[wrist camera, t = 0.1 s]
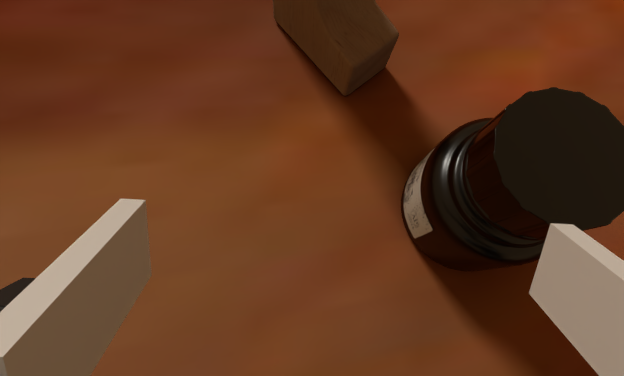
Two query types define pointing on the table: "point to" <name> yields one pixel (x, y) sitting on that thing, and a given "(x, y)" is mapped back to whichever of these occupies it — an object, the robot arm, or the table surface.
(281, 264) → the table surface
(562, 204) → the ink bottle
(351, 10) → the wooden block
